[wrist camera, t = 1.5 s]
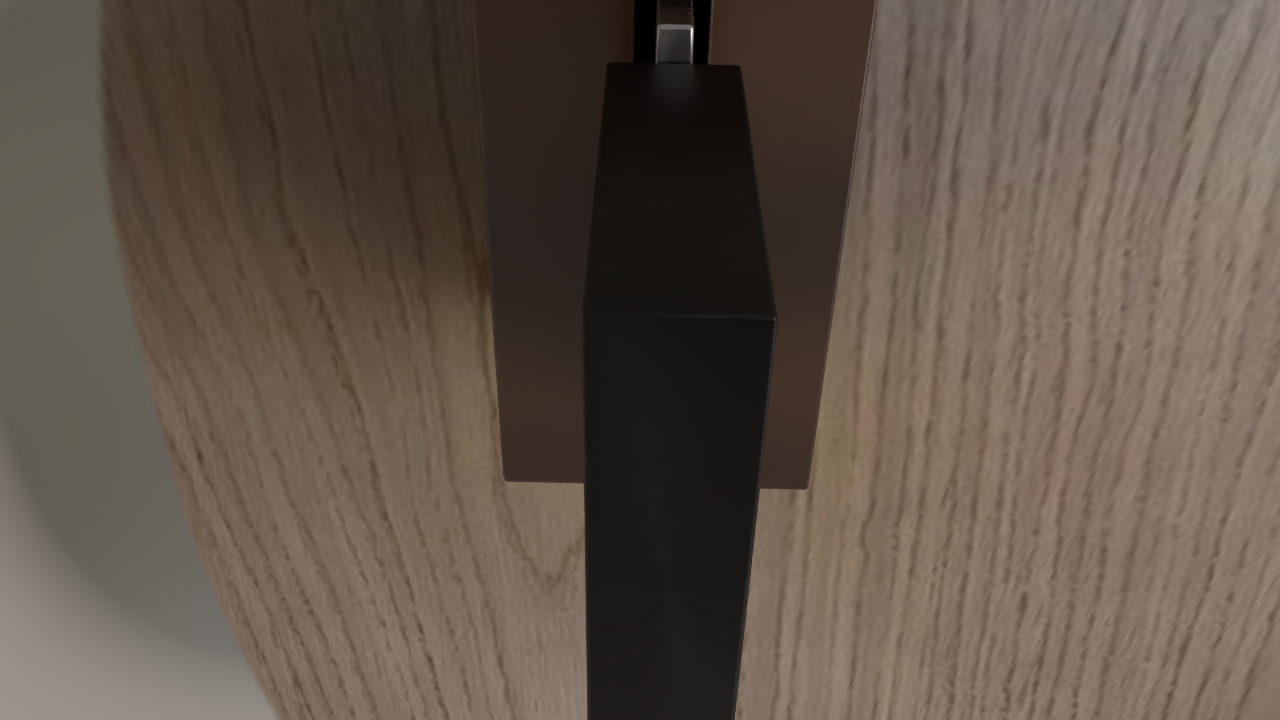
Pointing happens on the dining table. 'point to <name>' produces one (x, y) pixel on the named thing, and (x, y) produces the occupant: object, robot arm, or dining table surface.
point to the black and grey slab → (673, 383)
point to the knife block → (565, 179)
